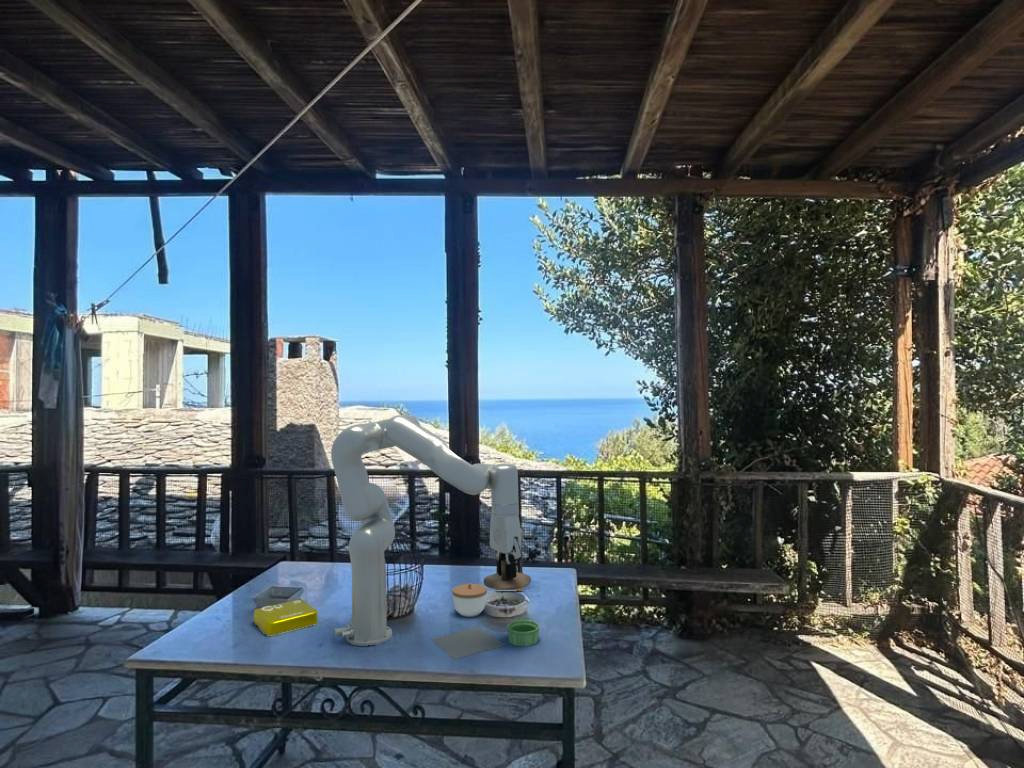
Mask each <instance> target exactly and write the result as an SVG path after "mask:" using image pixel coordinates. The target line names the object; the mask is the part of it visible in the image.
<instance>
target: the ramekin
mask: <svg viewBox="0 0 1024 768" xmlns="http://www.w3.org/2000/svg"><path fill="white" fill-rule="evenodd" d="M506 629H507V635H508V642H509V643H510V644H512V645H514V646H517V647H529V646H533V645H536V644H537V643H538V642H539V634H540V631H539V630H540V624H539V622H536V621H534V620H530V619H515V620H512V621H510V622H509V623H507V624H506Z"/></svg>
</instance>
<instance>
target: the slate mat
mask: <svg viewBox="0 0 1024 768" xmlns="http://www.w3.org/2000/svg"><path fill="white" fill-rule="evenodd" d="M430 640H431V641H432V642H433V643H434V644H436V645H437V646H438V647H440V649H441V650H443V651H444V652H445V653H447V655H449V656H450V657H452V659H454V660H457V659H461V658H464V657H468V656H472V655H475V654H479V653H482V652H487V651H490V650H494V649H497V648H502V647H505V646H506V645H505V644H503V642H500V641H499V640H497V639H496V638H495V637H493V636H492V635H490V634H488V633H487V632H486V631H484V630H483V629H481V628H480V627H478V626H477V627H473V628H469V629H465V630H461V631H457V632H454V633H453V632H452V633H449V634H446V635H445V634H444V635H441V636H437V637H433V638H430Z"/></svg>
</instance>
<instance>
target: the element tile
mask: <svg viewBox="0 0 1024 768" xmlns="http://www.w3.org/2000/svg"><path fill="white" fill-rule="evenodd" d="M254 623H255V624H256V625H257V626H258V627H259V628H260V629H261V630H262V631H263V632H264V633H265V634H267V635H274V634H278V633H282V632H286V631H290V630H294V629H298V628H302V627H306V626H309V625H313V624H316V623H317V624H318V610H317V609H316V608H315V607H313V606H312V604H311V605H310V604H309V603H308V602H306V601H305V600H304V599H295V600H291V601H286V602H281V603H276V604H273V605H267V606H263V607H259V608H256V609H255V610H254V612H253V624H254Z"/></svg>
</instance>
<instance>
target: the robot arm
mask: <svg viewBox="0 0 1024 768" xmlns="http://www.w3.org/2000/svg"><path fill="white" fill-rule="evenodd" d="M393 447H396V448H398V449H400V450H401V451H402V452H405V453H406V454H408V455H410V456H411V457H413V459H416V460H417V461H419V462H420V463H423V464H424V465H426V466H427V467H428V469H430V470H431V471H432V472H433V473H435V475H437V476H438V477H439V478H440V479H442V480H443V481H445V483H446V482H447V483H448V484H449V485H451V486H453V487H455V488H456V489H458V490H459V491H461V492H463V493H465V494H468V495H472V496H476V495H480V494H481V493H482V492H484V491H485V490H487V489H490V492H491V493H490V494H491V495H490V497H491V515H490V520H489V521H490V522H489V523H490V524H489V547H490V548H491V549H493V550H494V551H495V554H496V561H497V560H499V561H498V575H499V576H501V560H505V559H506V563H507V564H505V576H506V579H511V578H515V577H516V563H517V559H518V558H519V557H521V552H520V550H521V543H522V540H521V529H522V528H521V523H520V517H519V515H520V509H519V507H520V505H519V504H520V503H519V473H518V467H517V466H516V465H515V464H511V463H501V464H488V463H474V464H471V463H469V462H468V461H466V460H464V459H463V458H462V457H460V456H459V455H457V454H456V453H455V452H453V451H452V450H451V449H450V448H449V446H448V444H447V442H446V441H445V440H444V439H443V438H441V437H440V436H438V435H437V434H436V433H433V432H432V431H430V430H428V429H426V428H425V427H423V426H421V423H420V421H419V420H418V419H417V418H415V417H414V416H413V415H410V414H400V415H394V416H392V417H390V418H388V419H387V418H386V419H383V420H378V421H373V422H367V423H358V424H353V425H350V426H348V427H346V428H344V429H343V430H341V432H340V433H339V434H338V435H337V436H336V437H335V439H334V441H333V443H332V446H331V451H330V456H331V457H330V458H331V462H332V468H333V470H334V473H335V478H336V482H337V486H338V490H339V495H340V498H341V502H342V507H343V510H344V512H345V516H347V518H348V519H350V520H351V521H355V522H360V523H361V526H359V527H358V528H356V529H355V531H353V533H352V535H351V537H350V539H349V541H348V553H349V557H350V558H349V559H350V566H351V568H350V569H351V571H350V572H351V620H350V621H348V624H347V625H345V626H344V627H337V628H334V631H333V633H334V636H335V637H338V636H339V637H340V636H341V637H342V638H345V639H346V642H347V643H349V644H350V645H353V646H357V645H358V646H360V647H369V646H368V645H370V646H375V645H379V644H381V643H384V642H387V641H389V639H391V638H392V636H393V630H392V628H391V627H390V626H387V625H388V624H387V565H386V558H385V551H386V550H387V549H388V548H389V547H390V546H391V545H392V544H393V542H394V540H395V537H396V530H395V524H394V520H393V517H392V512H391V509H390V505H389V502H388V498H387V495H386V493H385V491H384V489H383V488H382V487H381V486H379V485H378V484H376V483H374V482H370V479H369V475H368V471H367V468H366V465H365V464H364V462H363V459H362V456H363V455H364V454H367V453H371V452H375V451H379V450H383V449H389V448H393ZM520 528H521V529H520ZM512 550H513V551H512ZM511 554H513V555H512V556H511V557H510V555H511ZM358 646H357V647H358Z"/></svg>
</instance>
